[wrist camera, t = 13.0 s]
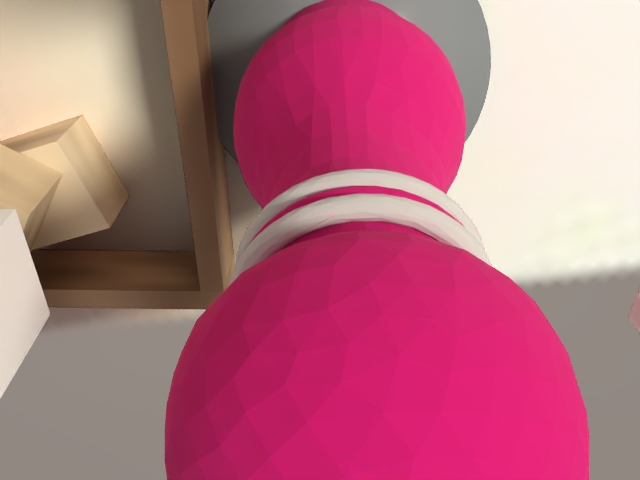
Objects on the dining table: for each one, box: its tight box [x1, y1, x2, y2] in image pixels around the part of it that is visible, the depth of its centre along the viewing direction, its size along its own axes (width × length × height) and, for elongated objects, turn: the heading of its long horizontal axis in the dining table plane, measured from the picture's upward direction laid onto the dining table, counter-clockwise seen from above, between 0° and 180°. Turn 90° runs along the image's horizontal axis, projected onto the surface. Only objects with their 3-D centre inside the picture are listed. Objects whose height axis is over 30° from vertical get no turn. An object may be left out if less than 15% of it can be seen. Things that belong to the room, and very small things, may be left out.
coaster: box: [207, 0, 491, 163], centre depth 22 cm, size 11×11×1 cm
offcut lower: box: [0, 115, 129, 250], centre depth 24 cm, size 8×4×3 cm, turn 108°
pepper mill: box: [165, 0, 589, 480], centre depth 13 cm, size 7×7×20 cm
